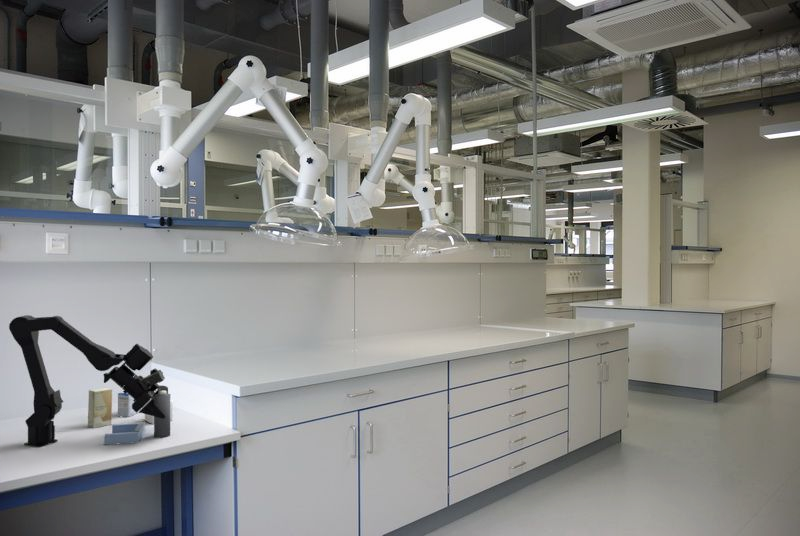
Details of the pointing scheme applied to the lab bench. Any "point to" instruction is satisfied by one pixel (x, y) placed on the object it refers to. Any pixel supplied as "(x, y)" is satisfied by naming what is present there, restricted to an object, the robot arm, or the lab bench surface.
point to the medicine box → (125, 405)
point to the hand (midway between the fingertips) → (166, 413)
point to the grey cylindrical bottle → (164, 404)
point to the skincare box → (100, 407)
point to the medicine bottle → (151, 418)
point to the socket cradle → (125, 433)
